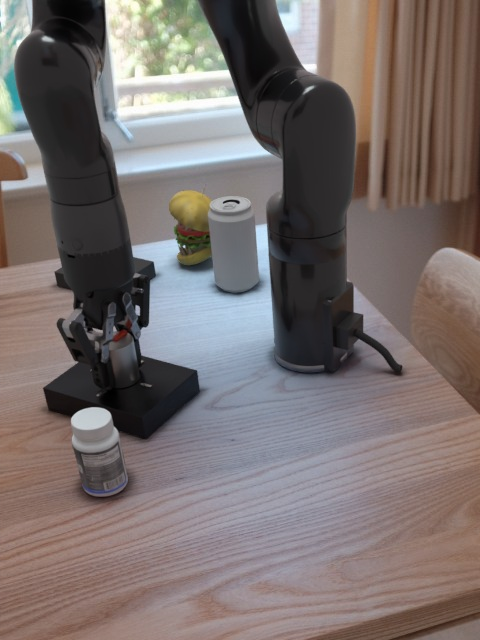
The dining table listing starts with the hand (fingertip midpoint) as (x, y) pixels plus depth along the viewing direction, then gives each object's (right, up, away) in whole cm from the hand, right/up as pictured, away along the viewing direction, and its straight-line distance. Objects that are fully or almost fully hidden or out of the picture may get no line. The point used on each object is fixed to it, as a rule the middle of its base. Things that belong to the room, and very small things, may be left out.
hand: (119, 376), depth 106 cm
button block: (-8, +18, +27) cm, 33 cm away
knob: (0, 0, 0) cm, 0 cm away
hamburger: (+5, +22, +31) cm, 38 cm away
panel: (0, -3, +2) cm, 3 cm away
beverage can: (+11, +17, +25) cm, 32 cm away
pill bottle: (+1, -13, -10) cm, 17 cm away
